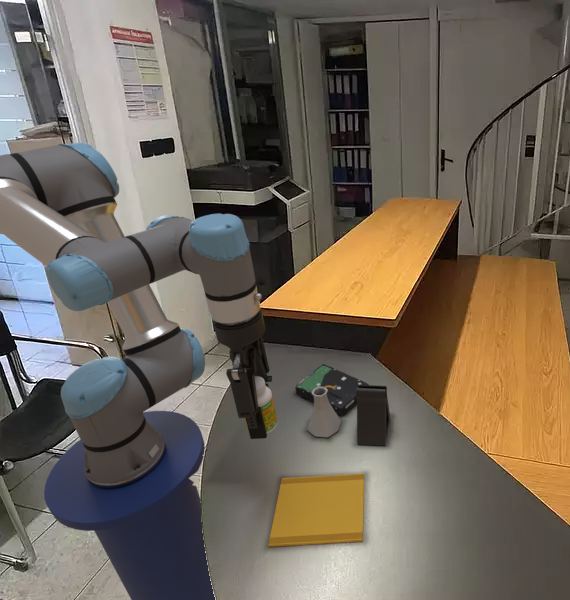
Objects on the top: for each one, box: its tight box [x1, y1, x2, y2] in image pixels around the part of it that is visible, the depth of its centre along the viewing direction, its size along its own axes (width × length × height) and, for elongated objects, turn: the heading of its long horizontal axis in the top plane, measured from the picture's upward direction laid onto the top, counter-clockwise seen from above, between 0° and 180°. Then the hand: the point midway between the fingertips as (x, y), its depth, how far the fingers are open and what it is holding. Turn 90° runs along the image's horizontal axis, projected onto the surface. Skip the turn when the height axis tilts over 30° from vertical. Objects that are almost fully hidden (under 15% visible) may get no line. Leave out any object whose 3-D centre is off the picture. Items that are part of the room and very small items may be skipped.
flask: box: [306, 387, 342, 438], centre depth 104 cm, size 7×7×10 cm
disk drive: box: [295, 363, 370, 416], centre depth 116 cm, size 10×3×15 cm
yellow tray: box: [268, 473, 365, 548], centre depth 88 cm, size 16×14×1 cm
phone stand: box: [356, 384, 391, 447], centre depth 102 cm, size 9×6×12 cm, turn 174°
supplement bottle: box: [244, 376, 278, 435], centre depth 85 cm, size 5×5×10 cm
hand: (262, 424), depth 87 cm, fingers closed on supplement bottle, 5 cm apart
